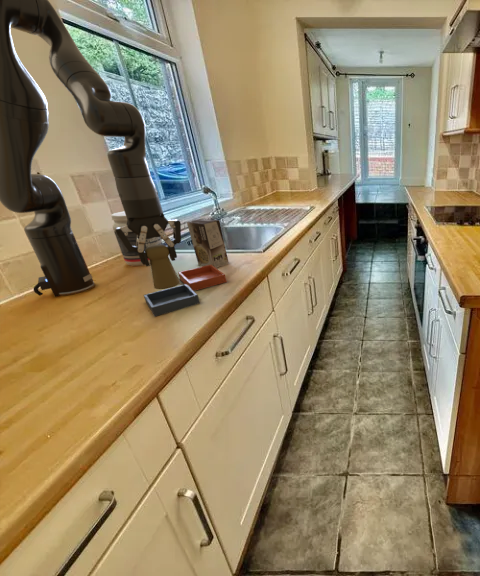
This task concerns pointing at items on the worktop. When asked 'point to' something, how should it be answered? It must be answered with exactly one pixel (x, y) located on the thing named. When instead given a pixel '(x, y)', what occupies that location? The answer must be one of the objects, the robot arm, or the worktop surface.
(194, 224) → the coffee box
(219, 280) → the terracotta tray
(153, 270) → the cork
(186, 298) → the slate tray
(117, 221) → the supplement tub
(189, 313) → the worktop surface
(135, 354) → the worktop surface
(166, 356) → the worktop surface
